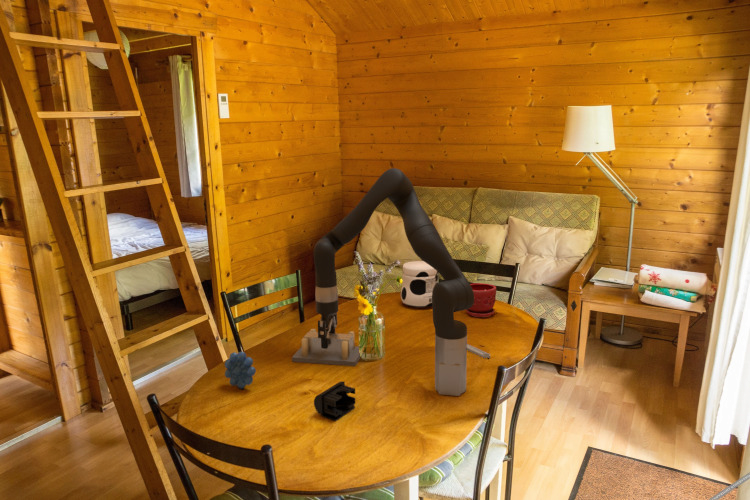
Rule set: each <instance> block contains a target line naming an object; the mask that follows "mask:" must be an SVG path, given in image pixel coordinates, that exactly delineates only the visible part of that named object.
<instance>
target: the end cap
mask: <svg viewBox="0 0 750 500" xmlns="http://www.w3.org/2000/svg"><path fill="white" fill-rule="evenodd" d="M348 394H352V395H353V394H354V395H355V394H356V388H355V387H351V386H348V385H346V383H345V381H338V382H337V383H336V384H333V385H332V386H330V387H329V388H327V389H325V390H324V391H322V392H320V393H318V394H317V395H316V396H315V397H314V399H313V405H314V409H315V411H316V412H317V413H318V415H320V416H322V417H323V418H324V419H328V420H329V421H333V422H337V421H339V419H341V418H343V417H344V416H345V415H347V414H349V413H350V412H352V411H353V410H354V409H355V408H356V407H355V404H356V397H354V396H351V395H348Z"/></svg>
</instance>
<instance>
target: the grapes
mask: <svg viewBox="0 0 750 500" xmlns="http://www.w3.org/2000/svg"><path fill="white" fill-rule="evenodd" d="M228 358H229V359H226V360H225V362H224V367H225V371H224V376H225V378H227V379H229V384H230V385H231V387H235V386H237V388H238V389H245V387H246V386H250V385H251V384H252V383H253V380H254V378H253V376H255V374H256V368H255V367H254V366H252V365H253V363H254V360H253V358H252V357H251V356H250V357H249V356H247V354H246V353H245V351H239V352H232V353H230V355H229V357H228Z"/></svg>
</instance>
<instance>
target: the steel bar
mask: <svg viewBox="0 0 750 500" xmlns="http://www.w3.org/2000/svg"><path fill="white" fill-rule="evenodd" d="M323 335H324V332H323ZM303 338H307V341H308V354H320V355H334V356H342V341H348V357H350V355H351V354H352V352H353V334H349V333H337V332H335V333H328V348H327V349H323V348H321V338H318V331H316V332H310V331H307V333H306V334H305V335H304V336H303Z"/></svg>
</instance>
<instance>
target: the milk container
mask: <svg viewBox="0 0 750 500" xmlns="http://www.w3.org/2000/svg"><path fill="white" fill-rule="evenodd" d="M437 283H439V272H438V271H437V270H435V269H434V268H433V267H431V266H430V265H428V264H427V263H426V262H424V261H423V260H413V261H407V262H405V263H403V265H402V286H401V290H400V299H401V301H402V304H403V305H406V306H408V307H411V308H419V309H421V308H424V309H425V308H432V291H433V288H434V286H435V285H436V284H437Z"/></svg>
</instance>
